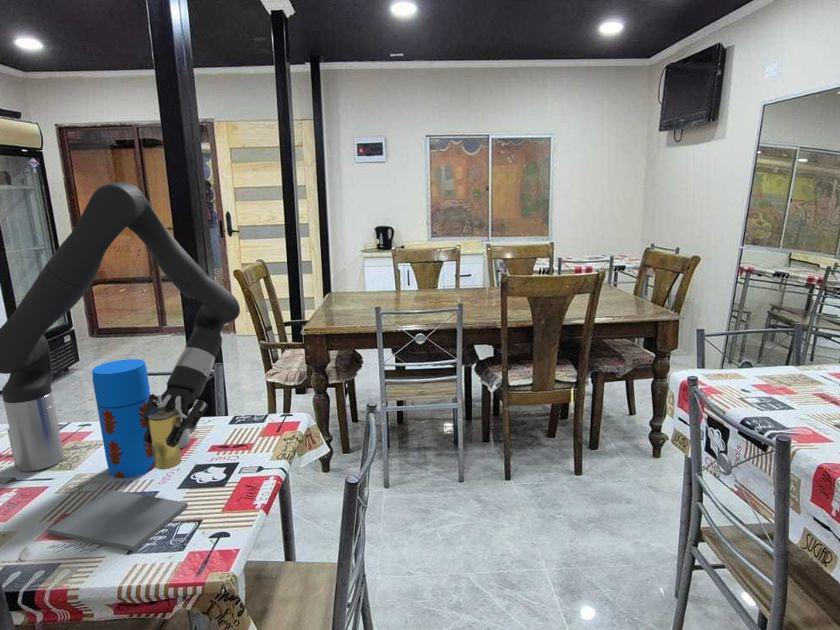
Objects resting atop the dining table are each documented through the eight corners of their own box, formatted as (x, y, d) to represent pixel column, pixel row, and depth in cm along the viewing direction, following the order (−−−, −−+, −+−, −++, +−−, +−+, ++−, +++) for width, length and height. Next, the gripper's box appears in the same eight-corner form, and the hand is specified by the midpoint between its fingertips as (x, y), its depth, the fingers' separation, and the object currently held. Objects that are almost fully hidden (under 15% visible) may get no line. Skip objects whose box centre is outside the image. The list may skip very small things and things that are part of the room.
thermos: (138, 480, 117) (121, 375, 111) (97, 476, 119) (79, 372, 113) (170, 457, 127) (156, 359, 122) (132, 453, 129) (116, 357, 124)
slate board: (48, 533, 99) (47, 529, 98) (109, 493, 112) (109, 489, 111) (134, 551, 93) (133, 546, 93) (187, 507, 106) (187, 502, 106)
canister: (148, 467, 110) (141, 415, 107) (166, 455, 115) (160, 405, 112) (169, 471, 109) (162, 418, 106) (187, 458, 114) (181, 407, 111)
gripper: (155, 361, 116) (119, 434, 108) (210, 367, 112) (177, 442, 104) (175, 376, 122) (142, 446, 114) (227, 381, 119) (197, 454, 110)
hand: (159, 444), depth 109 cm, fingers closed on canister, 5 cm apart
